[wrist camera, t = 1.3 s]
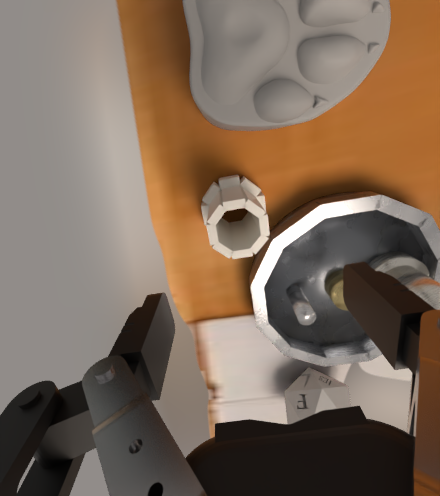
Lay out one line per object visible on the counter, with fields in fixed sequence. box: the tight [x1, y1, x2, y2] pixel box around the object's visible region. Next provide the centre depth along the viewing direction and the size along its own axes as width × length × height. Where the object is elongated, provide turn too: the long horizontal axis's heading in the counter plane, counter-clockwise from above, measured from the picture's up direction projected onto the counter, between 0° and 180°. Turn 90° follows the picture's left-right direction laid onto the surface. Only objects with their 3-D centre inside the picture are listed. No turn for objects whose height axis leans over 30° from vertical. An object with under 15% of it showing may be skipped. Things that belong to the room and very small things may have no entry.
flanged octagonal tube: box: [201, 175, 270, 259], centre depth 24 cm, size 6×6×8 cm
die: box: [284, 367, 351, 424], centre depth 34 cm, size 8×9×10 cm
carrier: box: [249, 191, 440, 367], centre depth 27 cm, size 21×21×9 cm
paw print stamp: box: [182, 0, 391, 131], centre depth 19 cm, size 10×13×9 cm
